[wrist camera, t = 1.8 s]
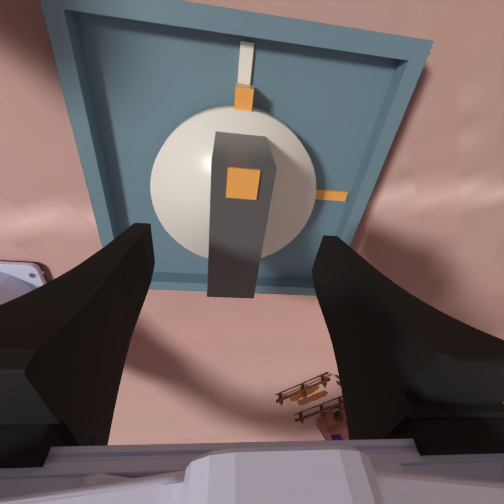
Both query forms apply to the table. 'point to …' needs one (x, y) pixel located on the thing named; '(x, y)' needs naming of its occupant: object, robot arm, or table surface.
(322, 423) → the playset
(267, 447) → the robot arm
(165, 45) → the dial panel
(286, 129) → the knob
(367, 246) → the table surface
